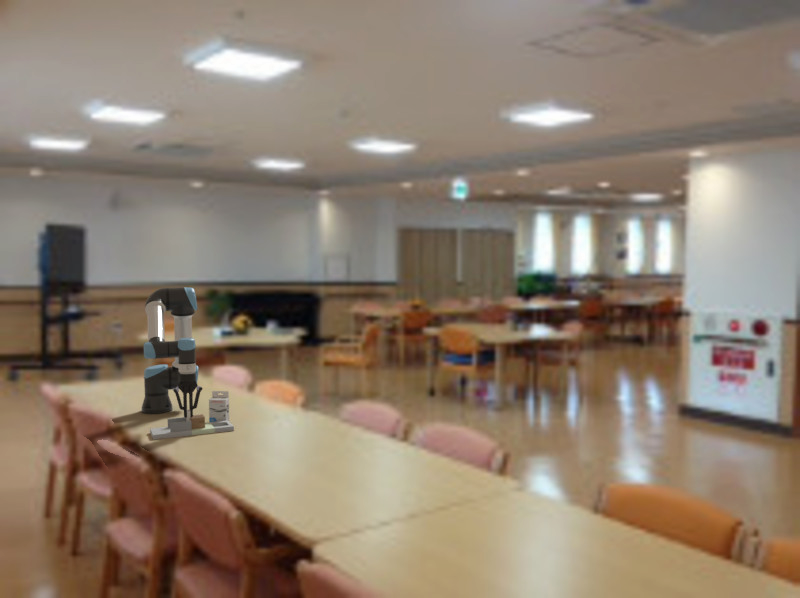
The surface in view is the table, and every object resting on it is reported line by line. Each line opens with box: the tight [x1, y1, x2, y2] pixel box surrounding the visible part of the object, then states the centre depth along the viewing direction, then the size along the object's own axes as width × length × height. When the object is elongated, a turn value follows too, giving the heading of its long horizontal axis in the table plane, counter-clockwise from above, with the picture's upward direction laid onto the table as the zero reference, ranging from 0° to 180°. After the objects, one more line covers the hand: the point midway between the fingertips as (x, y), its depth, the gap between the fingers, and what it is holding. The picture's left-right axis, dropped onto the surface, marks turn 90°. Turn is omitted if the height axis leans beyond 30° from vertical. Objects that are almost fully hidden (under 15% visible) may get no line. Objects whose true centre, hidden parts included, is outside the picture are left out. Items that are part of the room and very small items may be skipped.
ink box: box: [208, 390, 230, 422], centre depth 344 cm, size 9×5×15 cm, turn 84°
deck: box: [149, 416, 235, 440], centre depth 327 cm, size 13×35×6 cm, turn 115°
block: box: [190, 413, 206, 429], centre depth 328 cm, size 6×6×5 cm
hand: (188, 424), depth 326 cm, fingers closed
